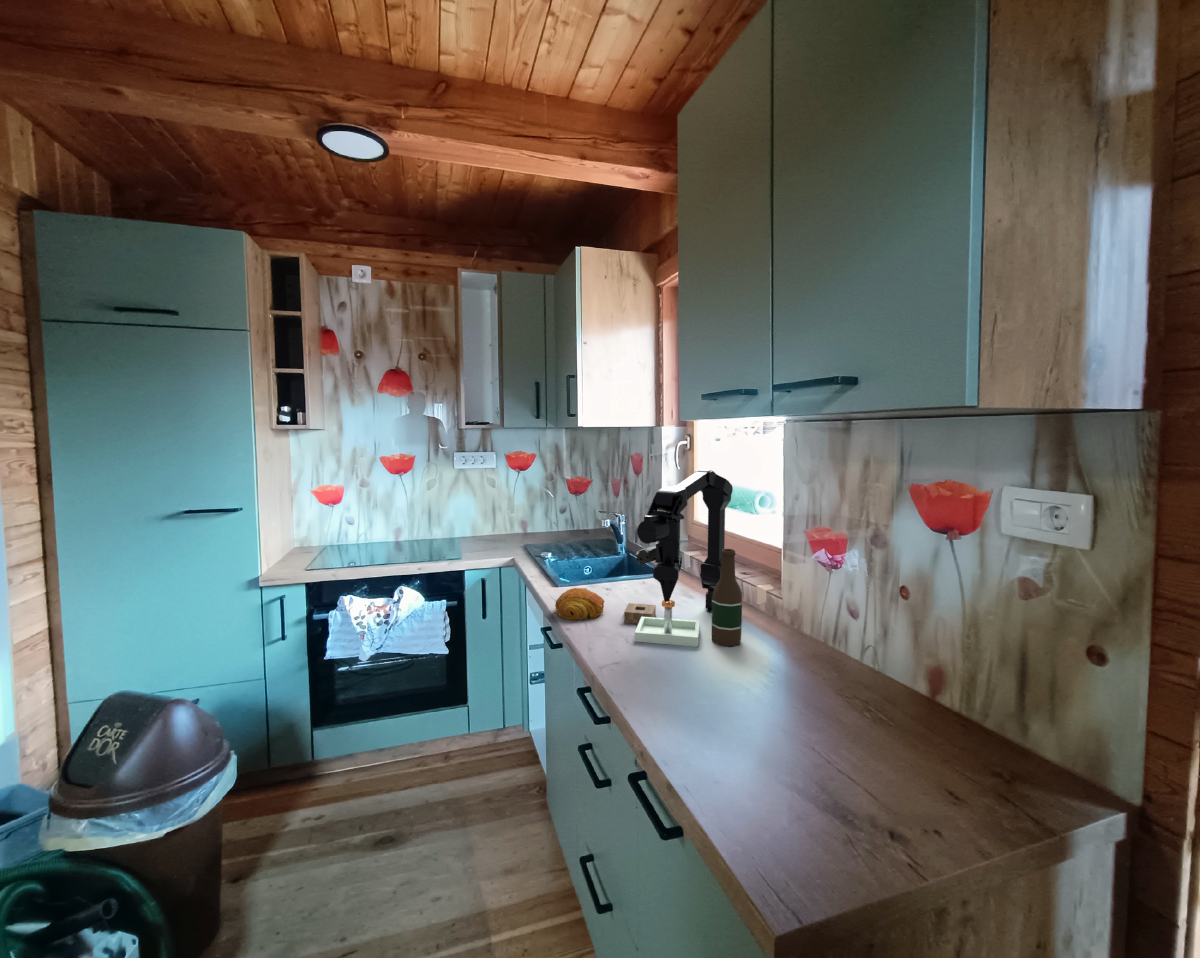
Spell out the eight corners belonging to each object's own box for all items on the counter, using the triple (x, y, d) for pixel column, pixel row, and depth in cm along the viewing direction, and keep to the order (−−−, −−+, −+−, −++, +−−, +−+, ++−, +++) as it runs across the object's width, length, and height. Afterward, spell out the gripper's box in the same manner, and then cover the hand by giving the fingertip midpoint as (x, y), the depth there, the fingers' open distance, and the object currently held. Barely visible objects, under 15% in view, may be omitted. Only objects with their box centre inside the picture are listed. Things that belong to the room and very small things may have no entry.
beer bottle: (705, 641, 138) (706, 549, 136) (720, 633, 144) (722, 545, 141) (732, 650, 133) (734, 554, 130) (747, 641, 138) (749, 549, 136)
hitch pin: (674, 631, 143) (675, 600, 143) (673, 635, 140) (674, 604, 139) (662, 630, 144) (662, 599, 143) (660, 634, 141) (661, 603, 140)
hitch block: (655, 614, 158) (655, 604, 158) (652, 624, 150) (652, 614, 150) (628, 612, 160) (628, 603, 159) (624, 622, 152) (624, 611, 152)
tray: (699, 629, 146) (699, 620, 146) (697, 646, 135) (698, 637, 134) (641, 624, 150) (641, 616, 150) (634, 641, 138) (634, 632, 138)
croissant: (549, 626, 155) (547, 600, 153) (566, 602, 170) (564, 578, 168) (598, 629, 151) (596, 603, 150) (610, 604, 166) (609, 580, 164)
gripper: (643, 530, 151) (642, 584, 152) (633, 543, 132) (632, 605, 134) (683, 531, 148) (682, 587, 150) (678, 545, 130) (677, 608, 131)
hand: (668, 596), depth 141 cm, fingers open, 9 cm apart
